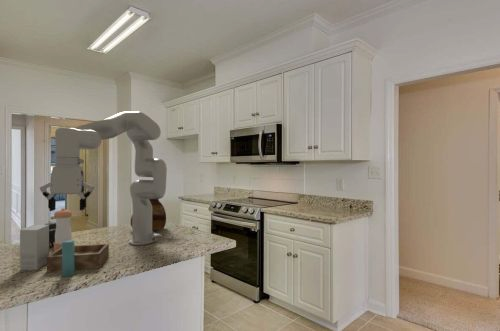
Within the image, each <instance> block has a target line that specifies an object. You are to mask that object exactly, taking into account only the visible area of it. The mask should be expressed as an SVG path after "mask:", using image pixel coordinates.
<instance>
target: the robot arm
mask: <svg viewBox="0 0 500 331" xmlns="http://www.w3.org/2000/svg"><path fill="white" fill-rule="evenodd" d="M54 132H55V133H54V166H53V167H52V170H51V173H50V174H51V175H50V182H48V183H46V184H44V185H41V186H40V187H39V190H40V192H41V193H42V195H43V197H45V198H46V200H47V201H48V207H47V208H48V209H49V212H53V211H56V208H57V207H56V205H57V204H56V199H55V197H56V196H57V195H78V196H79V197H80V199H79V210H80V211H83V210H85V208H87V198H88V197H90V196H91V194H92V192H93V191H94V189H95V186H93V185H92V184H90V183H87V182H85V174H84V173H85V172H84V167H83V166H81V164H84V163H85V160H84V159H83V158H82V159H81V157H80V156H81V155H80V153H81V151H80V150H89V151H90V150H95V149H98V148H99V147H101V144H102V140H103V141H104V140H109V139H113V138H116V137H118V136H120V135H122V134H124V133H126V135H127V137H128V138H129V140H130V142H132V144H133V145H134V150H135V154H134V157H135V158H134V173H135V175H136V176H137V177H140V178H153V179H136V180H134V181H133V182H132V183H131V184H130V186H129V191H130V197H131V204H132V206H131V208H132V210H131V211H132V215H131V217H132V226H131V228H132V232H131V234H132V238H130V239H129V241H128V244H130V245H132V246H143V245H144V246H145V245H150V244H153V243H154V242H156V239H161V238H162V234H161V233H155V232H154V231H152V204H151V202H150V200H149V199H158V200H161V199H162V198H164V196H165V194H166V188H167V172H168V168H167V164H166V162H165V160H164V159H162V158H154V148H153V146H152V144H151V142H150V141H156V140H158V139H160V137H161V128H160V126H159V124H158V123H157V122H156V121H155V120H153V119H152V118H151V117H150V116H148V114H146V113H144V112H142V111H138V110H137V111H122V112H118V113H117V114H114V115H111V116H109V117H107V118H104V119H100V120H95V121H92V122H88V123H85V124H81V125H77V126H75V127H57V128H56V130H55V131H54ZM48 188H49V192H48V190H47V189H48ZM86 189H88V190H87V191H86ZM85 191H86V192H85Z"/></svg>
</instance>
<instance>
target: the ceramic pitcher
mask: <svg viewBox="0 0 500 331" xmlns="http://www.w3.org/2000/svg"><path fill="white" fill-rule="evenodd" d="M149 200H150V202H151V204H152V231H153V232H154V231H158V230H162V229H164V228H165V226H166V223H167V214H166V209H165V207H164V205H163V204H162V202H161V201H160V199H149ZM130 226H131V227H132V216H131V217H130Z"/></svg>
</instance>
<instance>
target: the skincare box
mask: <svg viewBox="0 0 500 331" xmlns="http://www.w3.org/2000/svg"><path fill="white" fill-rule="evenodd" d="M49 255H50V248H49V225H44V224H32V225H30V226H27V227H24V228H22V229H20V230H19V271H37V270H39V269H41V268H43V267H44V266H47V256H49Z"/></svg>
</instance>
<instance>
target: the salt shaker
mask: <svg viewBox="0 0 500 331" xmlns="http://www.w3.org/2000/svg"><path fill="white" fill-rule="evenodd" d="M53 214H54V215H53V216H54V218H56V219H55V222H56V231H55V243H54V247H53V252H55V251H56V250H57V249H59V248H60V247H62V242H64V241H69V240H72V235H73V234H72V229H71V217H72V215H73V212H72V211H71V210H70V209H66V208H61V209H59V210H57V211H55V212H54V213H53Z"/></svg>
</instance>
